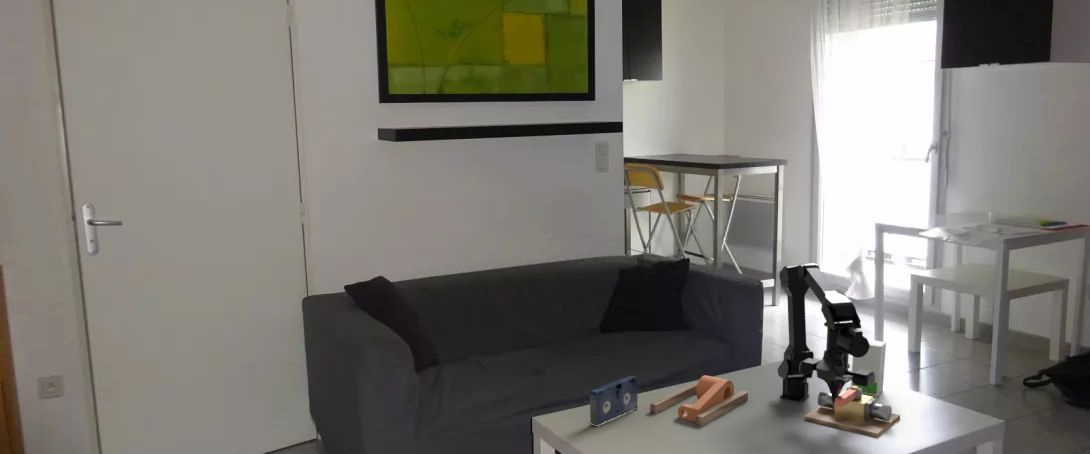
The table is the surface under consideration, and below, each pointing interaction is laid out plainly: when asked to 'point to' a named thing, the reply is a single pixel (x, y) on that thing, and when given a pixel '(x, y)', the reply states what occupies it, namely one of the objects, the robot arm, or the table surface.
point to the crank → (707, 396)
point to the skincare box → (872, 366)
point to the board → (851, 422)
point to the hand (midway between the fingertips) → (834, 402)
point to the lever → (848, 396)
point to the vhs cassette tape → (613, 400)
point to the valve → (857, 408)
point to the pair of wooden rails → (705, 415)
